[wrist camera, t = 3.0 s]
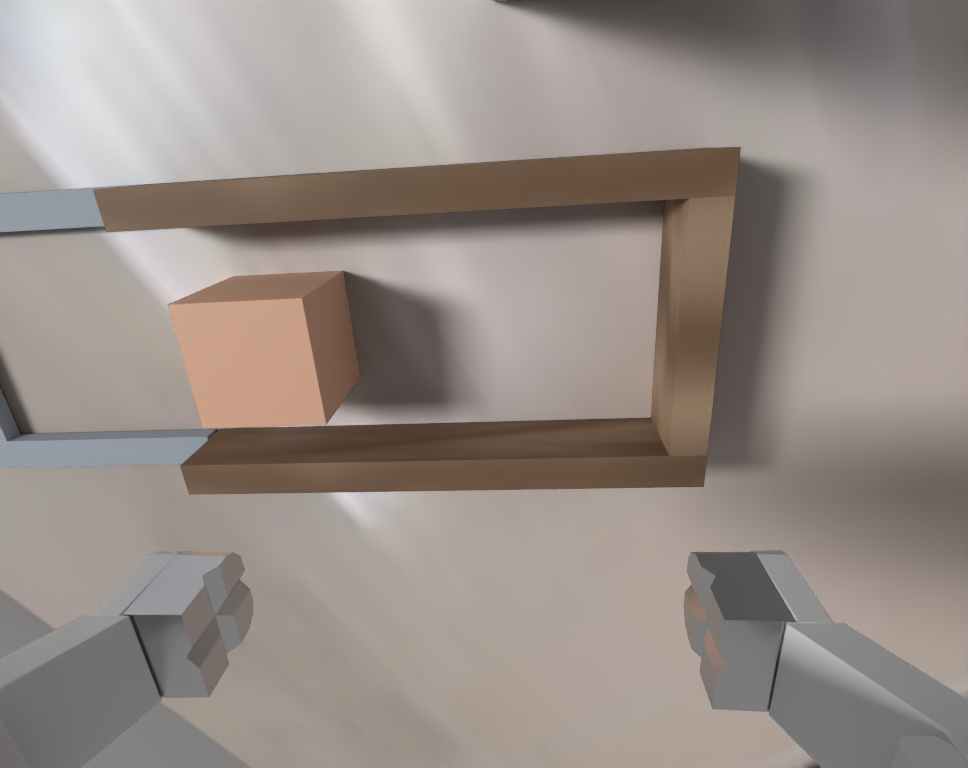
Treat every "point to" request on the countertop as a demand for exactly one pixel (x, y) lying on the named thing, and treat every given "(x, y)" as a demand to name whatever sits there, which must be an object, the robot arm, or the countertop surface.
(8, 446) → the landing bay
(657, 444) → the walnut cubby
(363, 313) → the countertop surface
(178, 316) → the terracotta block
